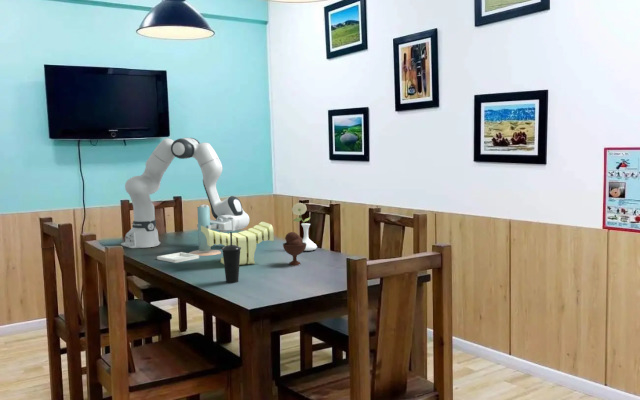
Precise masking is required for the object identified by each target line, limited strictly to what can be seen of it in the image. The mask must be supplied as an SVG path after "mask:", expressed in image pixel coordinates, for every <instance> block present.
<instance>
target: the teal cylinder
mask: <svg viewBox="0 0 640 400" xmlns="http://www.w3.org/2000/svg"><path fill="white" fill-rule="evenodd" d="M210 214H211V206H209V205H208V204H205V203H204V204H201V205H199V206H197V224H198V227H197V232H198V233H197V234H198V238H197V239H198V240H197V241H198V250H199V251H209V250H212V248H211V247H212V246H208V245H207V239H206V236H205V234H204V233H203V232H201V226H203V227H205V228H207V225H210V220H211V215H210Z"/></svg>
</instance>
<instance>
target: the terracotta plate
mask: <svg viewBox="0 0 640 400" xmlns="http://www.w3.org/2000/svg"><path fill="white" fill-rule="evenodd" d="M188 253H189V254H195V255H199V257H202V256H204V257H206V256H214V255H215V256H216V255H221V254H222V250H218V249H211V250H209V251H199V249H197V250H191V251H190V252H188Z"/></svg>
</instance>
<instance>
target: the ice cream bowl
mask: <svg viewBox="0 0 640 400" xmlns="http://www.w3.org/2000/svg"><path fill="white" fill-rule="evenodd" d="M284 240H285V241H286V242H284V243H282V246H283V249H284V252H286V253H287V255H288V254H289V255H290V256H292V260H291V261H290V262H289V263H288V265H289V264H290V266H299V265H298V264H300V265H301V262H300V261H298V260H297V258H298V256H299V255H301V254H302V253H304V252H305V251H304V250H305V248H306V243H303V237H302V236H300V235H299V234H298V233H296V232H294V231H291V232H288V233H287V234H286V235H285V237H284Z"/></svg>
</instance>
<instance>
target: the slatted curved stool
mask: <svg viewBox="0 0 640 400" xmlns="http://www.w3.org/2000/svg"><path fill="white" fill-rule="evenodd" d="M201 232H203V233H204V234H205V236H206V239H207V245H208V246H211V247H212V246H215V245H216V246H218V245H222V246H224V247H225V246H227V245H230V232H229V233H228V232H220V231H218V230H217V231H216V230H213V229H208V228H205V227H203V226H201ZM274 232H275V231H274V227H273V225H272V224H271V223H268V222H265V221H261V222H259V223H258V224H256V225H254V226H252V227H250V228H247V230H246V229H245V230H241V231H238V232H232V245H236V246H238V247H241V249H240V263H239V266H245V265H255V263H256V262H255V253H256V249H257V245H259V244H260V243H262V242H263V241H264V242H266V241H270V242H274V239H275V236H274V235H275V234H274ZM219 263H221V264H223V265H224V259H223V256H222V257H221V258H220V260H219Z"/></svg>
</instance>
